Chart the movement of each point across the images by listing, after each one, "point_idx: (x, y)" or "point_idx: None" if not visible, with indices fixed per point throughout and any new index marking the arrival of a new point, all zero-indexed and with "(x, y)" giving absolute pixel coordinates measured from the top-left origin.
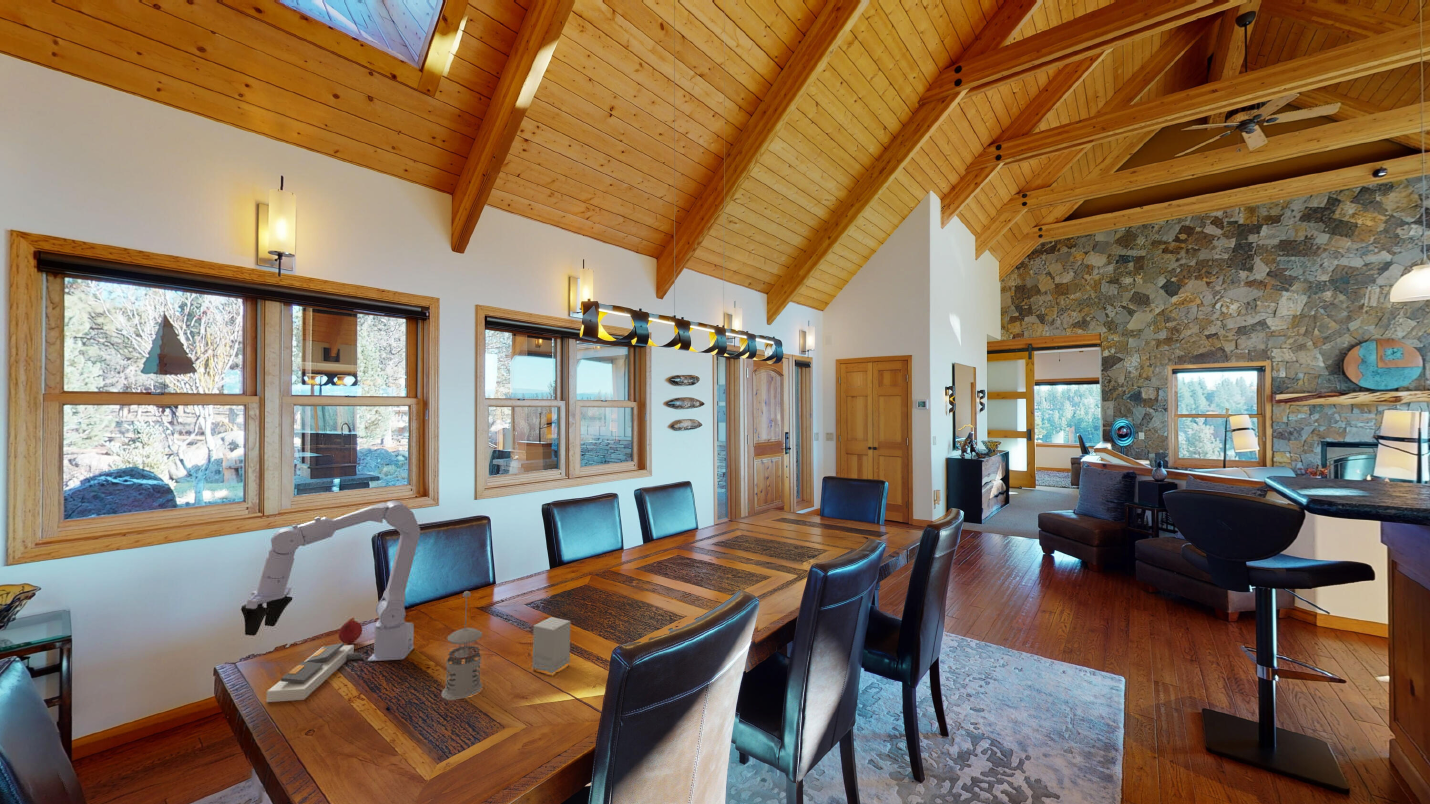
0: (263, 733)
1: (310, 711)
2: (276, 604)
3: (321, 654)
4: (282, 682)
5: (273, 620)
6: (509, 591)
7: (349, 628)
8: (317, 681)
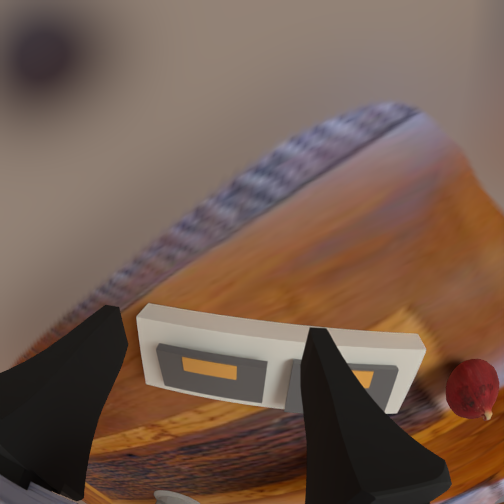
0: (56, 334)
1: (115, 383)
2: (319, 485)
3: None
4: (181, 335)
5: (304, 388)
6: None
7: (459, 407)
8: None
